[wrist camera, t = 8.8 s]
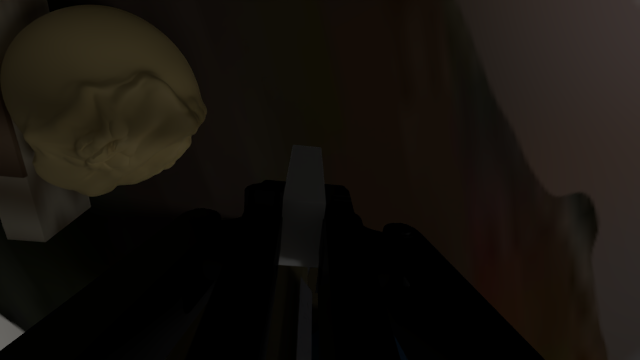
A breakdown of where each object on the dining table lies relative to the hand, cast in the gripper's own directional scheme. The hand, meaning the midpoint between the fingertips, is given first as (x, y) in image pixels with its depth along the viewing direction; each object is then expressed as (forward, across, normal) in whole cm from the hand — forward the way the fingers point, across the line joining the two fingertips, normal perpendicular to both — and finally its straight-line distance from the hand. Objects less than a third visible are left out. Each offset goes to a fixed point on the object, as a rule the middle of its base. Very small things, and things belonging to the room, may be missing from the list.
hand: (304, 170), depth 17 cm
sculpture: (+13, +14, -1) cm, 19 cm away
